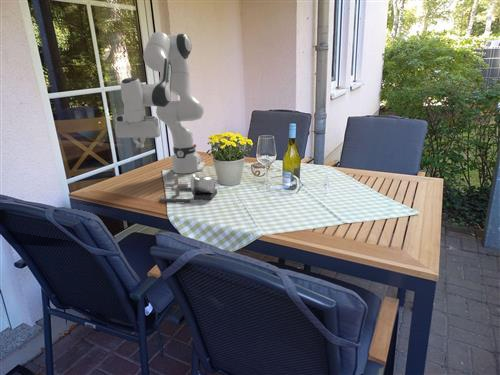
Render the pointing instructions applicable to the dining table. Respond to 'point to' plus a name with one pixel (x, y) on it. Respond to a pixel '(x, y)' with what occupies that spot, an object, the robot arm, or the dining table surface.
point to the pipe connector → (176, 185)
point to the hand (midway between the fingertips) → (140, 147)
